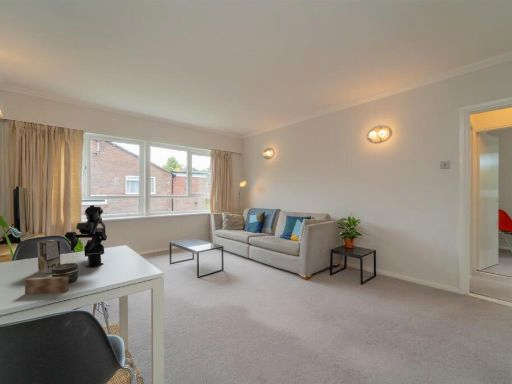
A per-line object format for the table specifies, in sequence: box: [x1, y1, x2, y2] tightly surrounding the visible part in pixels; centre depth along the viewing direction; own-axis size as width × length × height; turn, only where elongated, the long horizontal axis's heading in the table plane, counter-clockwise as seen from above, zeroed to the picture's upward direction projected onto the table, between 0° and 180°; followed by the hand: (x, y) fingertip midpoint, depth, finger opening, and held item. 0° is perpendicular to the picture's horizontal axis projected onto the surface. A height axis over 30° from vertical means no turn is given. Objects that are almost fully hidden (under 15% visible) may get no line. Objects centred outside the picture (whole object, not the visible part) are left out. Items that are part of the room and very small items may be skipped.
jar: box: [50, 262, 79, 285], centre depth 113 cm, size 10×10×8 cm
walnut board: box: [24, 276, 70, 295], centre depth 102 cm, size 16×2×6 cm, turn 95°
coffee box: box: [37, 239, 61, 274], centre depth 128 cm, size 9×6×16 cm
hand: (80, 250), depth 123 cm, fingers open, 8 cm apart
